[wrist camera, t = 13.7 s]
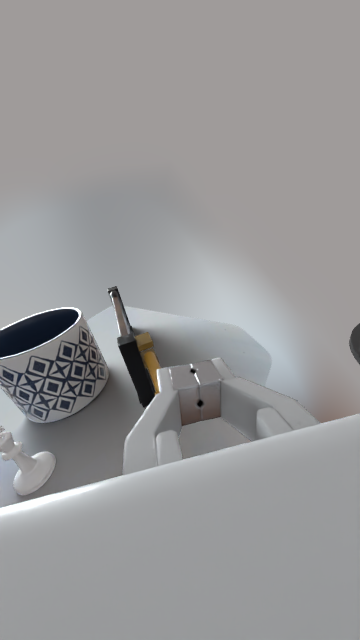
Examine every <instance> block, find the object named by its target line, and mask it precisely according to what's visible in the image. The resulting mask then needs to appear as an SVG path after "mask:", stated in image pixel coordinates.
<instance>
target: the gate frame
mask: <svg viewBox="0 0 360 640" xmlns="http://www.w3.org/2000/svg"><path fill="white" fill-rule="evenodd" d="M112 291H116V292H117V293H118V297H119V298H120V300H121V297H120V294H119V292H118V289H117V287H116V286H115V287H112V288H108V293H109V296H110V298H111V301H112V297H111V295H110V293H111V292H112ZM112 303H113V302H112ZM121 303H122V300H121ZM113 306H114V305H113ZM122 308H123V310H124V311H125V309H124V306H123V303H122ZM114 309H115V308H114ZM125 314H126V312H125ZM126 319H127V322H128V323H129V320H128V317H127V315H126ZM129 326H130V323H129ZM130 331H131V332H130V334H127V335H124V336H121V337H118V338H117V341H118V347H119V349H120V351H121V354H122V356H123V359H124V361H125V364H126V366H127V369H128V371H129V374H130V376H131V378H132V381H133V383H134V386H135V388H136V391H137V393H138V397H139V401H140V404H141V403H142V405H143V407H146V406H148V405H149V404H150V403H151V401H152V400H153V398H154V397H155V390H154V387H153V384H152V381H151V379H150V376H149V373H148V370H147V365H146V362H145V360H144V355H145V353H147V352H150V351H151V352H153V353H154V354H155V351H154V349H153V348H151V347H154V344H153V341H152V339H151V337H150V335H149V333H148V332H146V333H143V334H140V335H137V336H135V334H134V331H133V329H132V326H130ZM148 348H151V349H149V350H146V349H148ZM143 350H146V351H143ZM141 351H143V352H141ZM155 356H156V354H155ZM156 358H157V356H156ZM157 361H158V358H157ZM158 363H159V361H158Z"/></svg>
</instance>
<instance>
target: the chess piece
mask: <svg viewBox="0 0 360 640" xmlns="http://www.w3.org/2000/svg"><path fill="white" fill-rule="evenodd" d="M4 430H5V429H4V428H3V427H2V426H0V433H1V432H2V431H4ZM22 447H23V443H22V442H19V441H18V442H14V441H13V438H12V434H11V432H9V431H7V432H3V433H1V434H0V451H2V452H3V454H2V458H3V460H5V461H7V460H10V459H13V460H14V461H15V463H16V464H17V465H18V467H19V468H20V469H19V471H18V472H17V474H16V476H15V479H14V483H13V486H14V489H15V491H16V492H17V493H18V494H19V495H28V494H30V493H32V492H34V491H36V490H37V489H39V488H40V487H41V486H42V485H43V484H44V483H45V482H46V481H47V480H48V478H49V477H50V476H51V474H52V472H53V470H54V468H55V464H56V459H55V456H54V455H53V454H51V453H50V452H47V451H44V452H40V453H37V454H36V455H34V456H32V457H30V456H29V455H27V454H25V453H24V452H22V451H21V449H22Z"/></svg>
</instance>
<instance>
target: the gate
mask: <svg viewBox="0 0 360 640" xmlns="http://www.w3.org/2000/svg"><path fill="white" fill-rule="evenodd" d="M110 295H111V297H112V302H113V305H114V308H115V312H116V317H117V322H118V326H119V331H120V336H124V335H127V334H130V332H131V331H130V326H129V323H128V322H127V319H126V314H125V311H124V310H123V308H122V303H121V300H120V298H119V297H118V293H117V292H116V291H112V292H111V293H110Z"/></svg>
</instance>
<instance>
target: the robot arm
mask: <svg viewBox="0 0 360 640" xmlns="http://www.w3.org/2000/svg"><path fill="white" fill-rule="evenodd" d="M157 378H158V384H159V391H160V393H158V394H156V395H155V397H154V398H153V400H152V401H151V403H150V404H149V405H148V407H147V408H146V410H145V411H144V413H143V414H142V416H141V417H140V419H139V420H138V421H137V423H136V424H135V426H134V427H133V429H132V430H131V432H130V433H129V434H128V436H127V437H126V439H125V444H124V457H123V471H122V476H119V477H115V478H112V479H108V480H104V481H100V482H96V483H92V484H89V485H85V486H81V487H77V488H73V489H70V490H66V491H62V492H58V493H54V494H51V495H47V496H43V497H39V498H35V499H32V500H28V501H24V502H20V503H16V504H12V505H9V506H5V507H1V508H0V640H360V414H356V415H352V416H349V417H344V418H340V419H337V420H333V421H329V422H325V423H320V422H319V421H318V420H317V419H316V418H315V417H314V416H313V415H311V414H310V413H309V412H308V411H307V410H306V409H305V408H304V407H303V406H302V405H301V404H300V403H299V402H298V401H297V400H295V399H293V398H290V397H288V396H285V395H283V394H280V393H278V392H275V391H273V390H271V389H268V388H266V387H263V386H261V385H258V384H256V383H254V382H251V381H249V380H246V379H244V378H241V377H236V376H235V375H234V374H233V372H232V371H231V370H230V369H229V367H228V366H227V365H226V363H225V362H224V361H223V360H222V358H215V359H211V360H207V361H202V362H197V363H192V364H185V365H179V366H173V367H168V368H161V369H157ZM218 417H221V418H222V419H223V420H224V421H226V422H227V423H228V424H230V425H231V426H232V427H234V428H235V429H236V430H237V431H239V432H240V433H241V434H243V435H244V436H245V437H246V438H248V439H249V440H250V441H252V442H249V443H245V444H241V445H237V446H233V447H230V448H226V449H222V450H218V451H214V452H211V453H207V454H203V455H199V456H195V457H192V458H188V459H184V460H183V457H182V453H181V448H180V444H179V439H178V438H179V435H180V432H181V429H182V426H184V425H188V424H192V423H196V422H199V421H204V420H209V419H214V418H218Z"/></svg>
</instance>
